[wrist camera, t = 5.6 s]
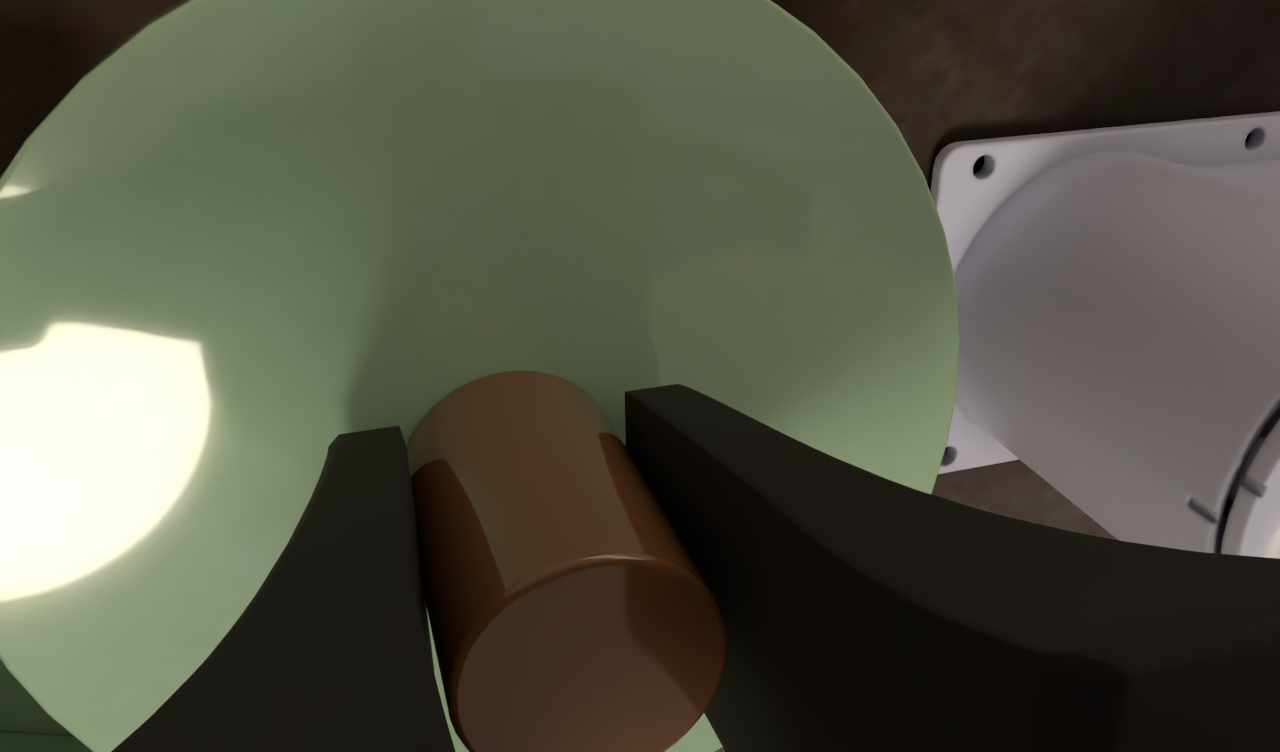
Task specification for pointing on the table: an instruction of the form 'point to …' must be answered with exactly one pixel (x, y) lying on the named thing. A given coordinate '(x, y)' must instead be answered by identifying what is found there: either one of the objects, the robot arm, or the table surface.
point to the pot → (29, 722)
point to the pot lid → (442, 332)
